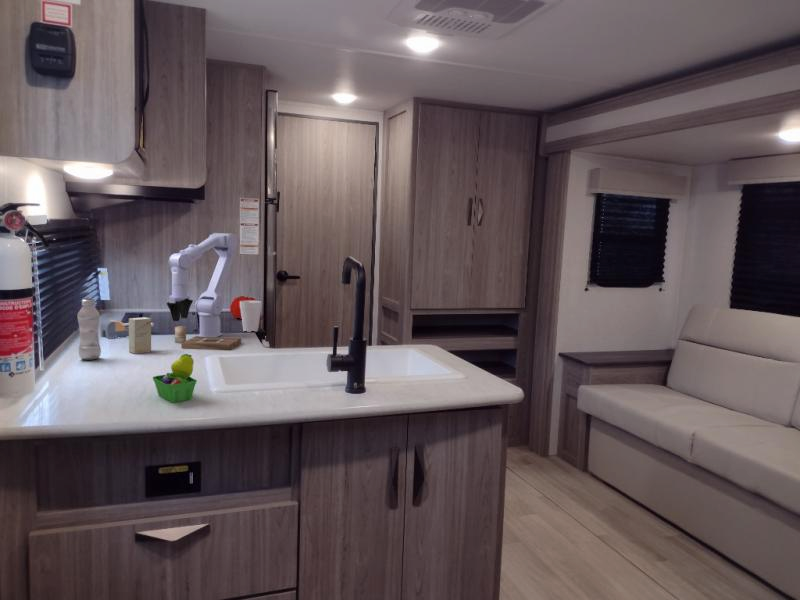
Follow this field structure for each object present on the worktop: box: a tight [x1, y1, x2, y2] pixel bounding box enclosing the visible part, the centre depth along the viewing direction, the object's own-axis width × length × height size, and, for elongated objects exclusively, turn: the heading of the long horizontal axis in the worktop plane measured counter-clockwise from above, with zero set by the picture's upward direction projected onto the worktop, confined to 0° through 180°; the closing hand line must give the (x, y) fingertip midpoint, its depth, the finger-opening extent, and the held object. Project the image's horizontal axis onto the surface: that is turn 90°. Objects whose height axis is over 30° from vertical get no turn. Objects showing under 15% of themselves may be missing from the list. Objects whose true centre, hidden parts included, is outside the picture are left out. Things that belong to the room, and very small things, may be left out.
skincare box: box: [128, 316, 152, 355], centre depth 200 cm, size 6×4×12 cm
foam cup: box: [240, 300, 263, 333], centre depth 250 cm, size 10×9×13 cm
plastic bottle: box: [76, 298, 102, 361], centre depth 186 cm, size 6×7×20 cm
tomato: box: [229, 295, 257, 320], centre depth 282 cm, size 13×14×12 cm
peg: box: [174, 325, 187, 344], centre depth 220 cm, size 4×4×6 cm
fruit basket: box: [152, 353, 197, 403], centre depth 149 cm, size 11×9×11 cm
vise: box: [100, 319, 155, 340], centre depth 231 cm, size 18×10×7 cm, turn 140°
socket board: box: [180, 335, 242, 351], centre depth 216 cm, size 14×18×2 cm
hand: (180, 319), depth 220 cm, fingers open, 7 cm apart
